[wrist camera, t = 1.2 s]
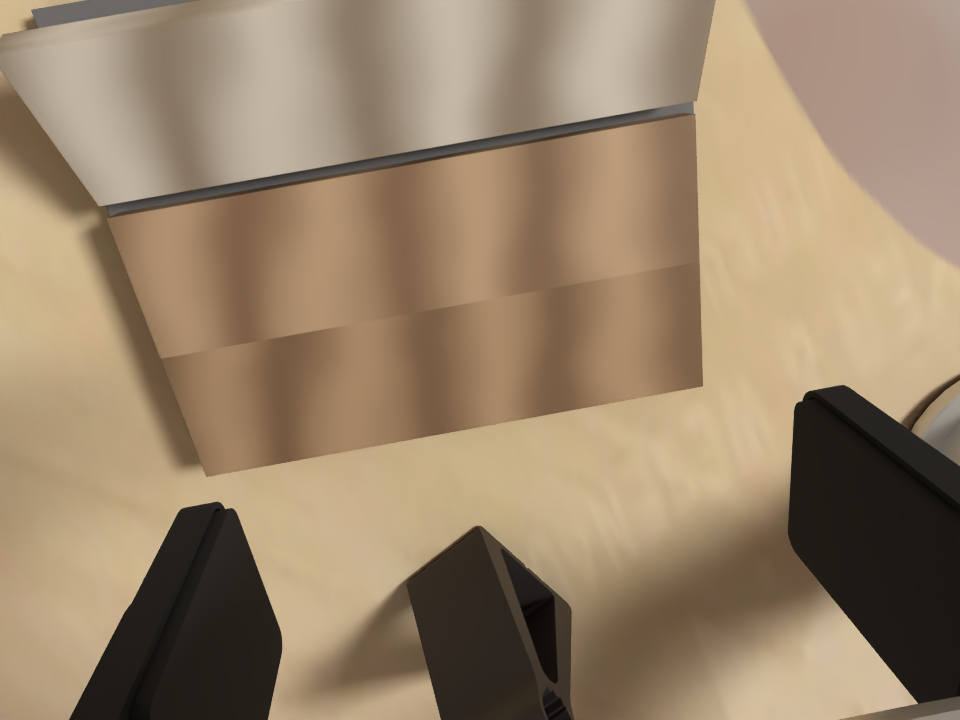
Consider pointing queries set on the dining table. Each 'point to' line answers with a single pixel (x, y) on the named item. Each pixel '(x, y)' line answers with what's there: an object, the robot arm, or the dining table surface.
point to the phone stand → (492, 635)
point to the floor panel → (420, 284)
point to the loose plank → (336, 81)
